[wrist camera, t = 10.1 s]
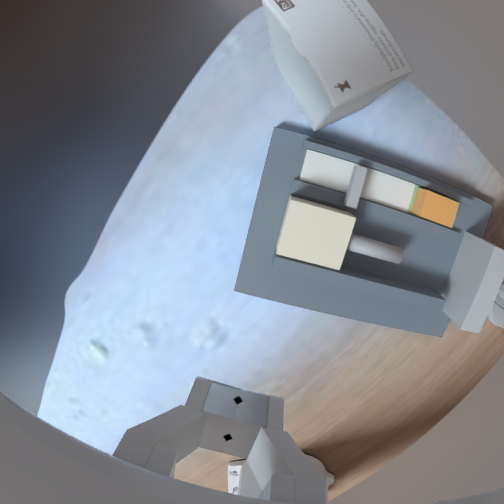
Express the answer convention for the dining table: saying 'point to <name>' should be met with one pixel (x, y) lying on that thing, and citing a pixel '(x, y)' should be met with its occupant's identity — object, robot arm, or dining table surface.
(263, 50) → the dining table surface
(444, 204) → the orange rectangular block
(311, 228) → the cream block with rods
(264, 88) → the dining table surface
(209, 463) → the dining table surface
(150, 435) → the robot arm
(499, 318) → the mug
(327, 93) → the skincare box
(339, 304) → the base
